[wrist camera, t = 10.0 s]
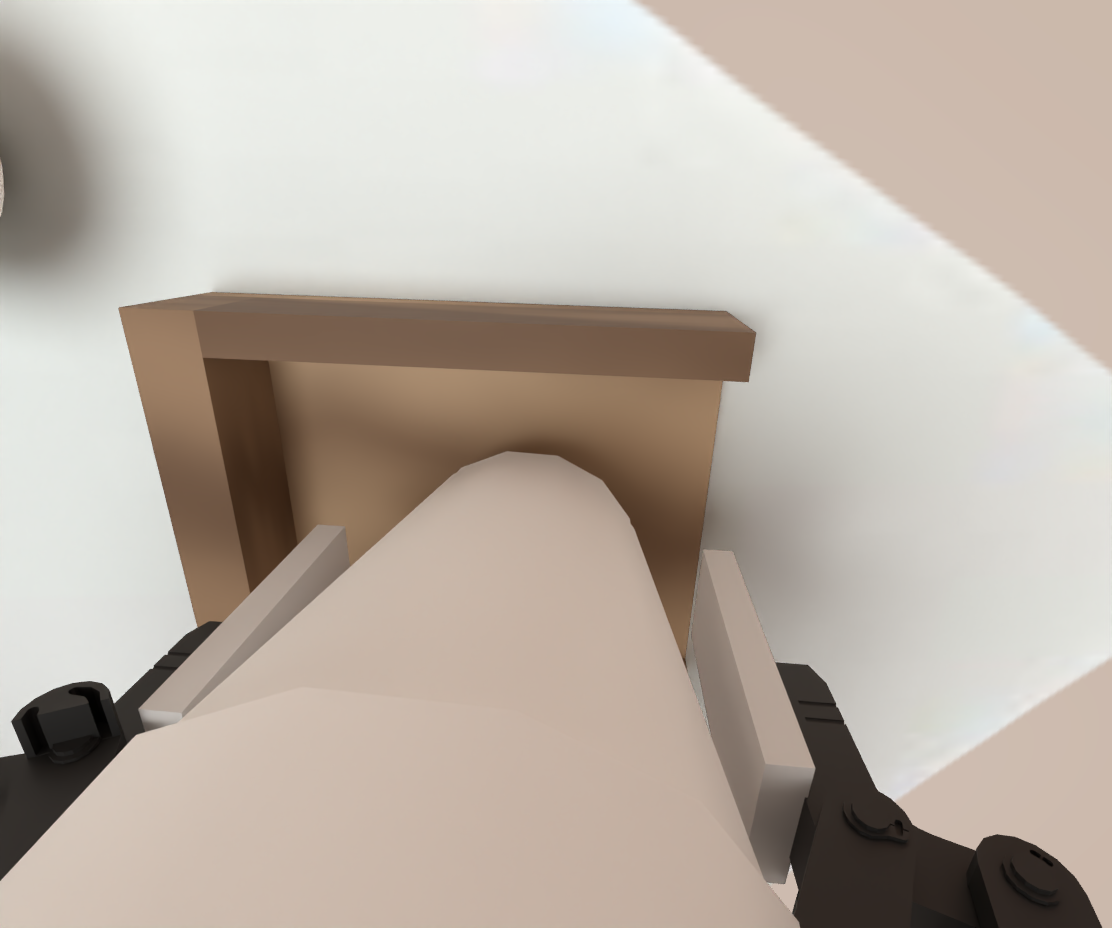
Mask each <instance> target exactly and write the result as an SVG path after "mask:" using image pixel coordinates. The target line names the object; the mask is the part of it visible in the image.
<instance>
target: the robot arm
mask: <svg viewBox="0 0 1112 928" xmlns="http://www.w3.org/2000/svg"><path fill="white" fill-rule="evenodd" d="M348 568H350V563H349V555H348V547H347V539H346V531H345V526H332V525H317V526H316V527H315V528H314V529H313V530H312V531H311V532H310V533H309V534H308V535H307V536H306V537H305V538H304V539H303V540H302V541H301V542H300V543H299V544H298V545H297V546H296V547H295V548H294V549H293V550H292V552H291V553H290V554H289V555H288V556H287V557H286V558H285V559H284V560H283V561H282V562H281V563H280V564H279V565H278V566H277V567H276V568H275V569H274V570H273V571H272V572H271V573H270V574H269V575H268V576H267V577H266V578H265V579H264V580H263V581H262V582H261V583H260V584H259V585H258V586H257V587H256V589H255V590H254V591H253V592H252V593H251V594H250V595H249V596H248V597H247V598H246V599H245V600H244V601H243V602H242V603H241V604H240V605H239V606H238V607H237V608H236V609H235V610H234V611H233V612H232V613H231V614H230V615H229V616H228V617H227V618H226V619H225V620H224V621H223V622H217V621H208V622H207V623H205V624H203V625H202V626H200V627H198V628H196V629H195V630H193V631H191V632H190V633H188V634H186V635H185V636H184V637H183V638H182V639H181V640H180V641H179V642H178V643H177V644H176V645H175V646H174V647H172V648H171V649H170V650H169V651H168V655H164V656H163V657H162V658H161V659H160V660H159V661H158V662H157V663H156V664H155V665H154V668H153V669H150V670H149V671H148V672H147V673H146V674H145V675H144V676H142V677H141V678H140V679H139V680H138V681H137V682H136V683H135V684H134V685H133V686H132V687H131V688H130V689H129V690H128V691H127V692H126V693H125V694H124V695H123V696H122V697H121V698H120V699H119V700H118V701H117V702H116V703H115V704H114V703H113V700H112V697H111V694H110V691H109V689H108V688H107V687H106V686H105V685H104V684H102V683H98V682H92V681H87V682H78V683H72V684H68V685H65V686H62V687H59V688H56V689H53V690H51V691H49V692H47V693H45V694H43V695H41V696H39V697H37V698H35V699H34V700H33V701H31V702H30V703H29V704H27V705H26V706H25V707H23V708H22V709H21V710H20V711H19V712H18V713H17V715H16V716H15V717H14V718H13V720H12V721H11V722H12V725H13V727H14V729H15V732H16V734H17V736H18V739H19V741H20V743H21V746H22V748H23V750H24V753H25V754H19V755H13V756H7V757H1V758H0V881H1V880H2V879H3V878H4V877H5V875H6V874H7V873H8V872H9V871H10V870H11V869H12V868H13V867H14V866H15V865H16V864H17V863H18V861H19V860H20V859H21V858H22V857H23V856H24V855H25V854H26V853H27V852H28V851H29V850H30V849H31V847H32V846H33V845H34V844H35V843H36V842H37V841H38V840H39V839H40V838H41V837H42V836H43V835H44V833H45V832H46V831H47V830H48V829H49V828H50V827H51V826H52V825H53V824H54V823H55V822H56V821H57V819H58V818H59V817H60V816H61V815H62V814H63V813H64V812H65V811H66V810H67V809H68V808H69V807H70V805H71V804H72V803H73V802H74V801H75V800H76V799H77V798H78V797H79V796H80V795H81V794H82V793H83V792H84V790H85V789H86V788H87V787H88V786H89V785H90V784H91V783H92V782H93V781H94V780H95V779H96V778H97V776H98V775H99V774H100V773H101V772H102V771H103V770H104V769H105V768H106V767H107V766H108V765H109V764H110V762H111V761H112V760H113V759H114V758H115V757H116V756H117V755H118V754H119V753H120V752H121V751H122V750H123V748H124V747H125V746H126V745H127V744H128V743H129V742H130V741H131V740H132V739H133V738H134V737H135V736H136V735H137V734H141V733H144V732H148V731H151V730H155V729H158V728H162V727H165V726H168V725H172V724H175V723H177V722H179V721H180V720H181V719H182V718H183V717H184V716H185V715H186V714H187V713H189V712H190V711H191V710H192V709H193V708H194V707H195V706H196V705H197V704H199V703H200V702H201V701H202V700H203V699H204V698H205V697H206V696H207V695H209V694H210V693H211V692H212V691H213V690H214V689H215V688H216V687H217V686H219V685H220V684H221V683H222V682H223V681H224V680H225V679H226V678H227V677H229V676H230V675H231V674H232V673H233V672H234V671H235V670H236V669H237V668H238V667H240V666H241V665H242V664H243V663H244V662H245V661H246V660H247V659H248V658H250V657H251V656H252V655H253V654H254V653H255V652H256V651H257V650H258V649H260V648H261V647H262V646H263V645H264V644H265V643H266V642H267V641H268V640H270V639H271V638H272V637H273V636H274V635H275V634H276V633H277V632H278V631H280V630H281V629H282V628H283V627H284V626H285V625H286V624H287V623H288V622H290V621H291V620H292V619H293V618H294V617H295V616H296V615H297V614H298V613H300V612H301V611H302V610H303V609H304V608H305V607H306V606H307V605H308V604H310V603H311V602H312V601H313V600H314V599H315V598H316V597H317V596H318V595H320V594H321V593H322V592H323V591H324V590H325V589H326V588H327V587H328V586H330V585H331V584H332V583H333V582H334V581H335V580H336V579H337V578H338V577H340V576H341V575H342V574H343V573H344V572H345V571H346V570H347V569H348ZM691 637H692V642H693V647H694V652H695V657H696V662H697V667H698V672H699V677H700V682H701V687H702V692H703V697H704V702H705V707H706V712H707V717H708V722H709V727H710V732H711V737H712V740H713V743H714V746H715V748H716V751H717V754H718V757H719V759H720V762H721V765H722V767H723V770H724V773H725V776H726V778H727V781H728V784H729V786H730V789H731V792H732V794H733V797H734V800H735V803H736V805H737V808H738V811H739V813H740V816H741V819H742V821H743V824H744V827H745V830H746V832H747V835H748V838H749V840H750V843H751V846H752V848H753V851H754V854H755V857H756V859H757V862H758V865H759V867H760V870H761V873H762V875H763V878H764V880H765V881H766V882H768V883H778V884H785V882H786V878H787V874H788V871H789V867H790V863H791V865H792V869H793V872H794V876H795V879H796V883H797V886H798V889H799V891H798V894H797V897H796V901H795V905H794V909H793V912H792V914H793V915H794V917H795V918H796V919H797V920H798V922H799V925H800V928H1102V926H1101V924H1100V922H1099V920H1098V918H1097V915H1096V913H1095V911H1094V909H1093V907H1092V905H1091V903H1090V900H1089V898H1088V896H1087V894H1086V893H1085V891H1084V890H1083V888H1082V887H1081V885H1080V884H1079V882H1078V881H1077V879H1076V878H1075V877H1074V876H1073V874H1071V873H1070V872H1069V871H1068V870H1067V869H1066V868H1065V867H1064V866H1063V865H1062V864H1061V863H1060V862H1059V861H1058V860H1057V859H1055V858H1054V857H1052V856H1051V855H1049V854H1048V853H1046V852H1045V851H1043V850H1042V849H1040V848H1039V847H1037V846H1036V845H1033V844H1031V843H1028V842H1026V841H1023V840H1021V839H1019V838H1016V837H1012V836H1004V835H998V834H997V835H993V836H989V837H986V838H983V840H982V841H981V843H980V844H979V846H978V847H977V849H976V851H975V850H972V849H970V848H967V847H964V846H961V845H958V844H956V843H953V842H951V841H948V840H945V839H942V838H940V837H937V836H934V835H932V834H929V833H927V832H925V831H923V830H921V829H918V828H917V827H915V826H914V825H912V823H911V821H910V820H909V818H908V817H907V815H906V813H905V812H904V811H903V810H902V809H901V808H900V807H899V806H898V805H897V804H896V803H895V802H894V801H893V800H892V799H890V798H889V797H887V796H885V795H884V794H882V793H880V792H879V791H878V790H877V789H876V787H875V785H874V783H873V781H872V778H871V776H870V774H869V772H868V770H867V768H866V766H865V764H864V762H863V760H862V757H861V755H860V753H859V751H858V749H857V747H856V745H855V743H854V741H853V739H852V736H851V734H850V732H849V730H848V728H847V726H846V725H844V720H843V717H842V715H841V713H840V711H839V709H838V708H836V703H835V701H834V699H833V696H832V694H831V692H830V690H829V688H828V686H827V684H826V683H825V682H824V681H823V680H822V679H821V678H820V677H819V676H818V675H817V674H816V673H815V672H814V671H813V670H812V669H811V668H810V667H809V666H808V665H801V664H788V663H775V661H774V658H773V656H772V653H771V650H770V648H769V645H768V642H767V640H766V637H765V635H764V632H763V629H762V627H761V624H760V621H759V619H758V616H757V614H756V611H755V608H754V606H753V603H752V600H751V598H750V595H749V593H748V590H747V587H746V585H745V582H744V579H743V577H742V574H741V572H740V569H739V566H738V564H737V561H736V558H735V556H734V553H733V551H723V550H707V549H703V552H702V560H701V567H700V574H699V581H698V589H697V596H696V603H695V610H694V618H693V625H692V632H691Z"/></svg>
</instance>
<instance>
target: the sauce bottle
mask: <svg viewBox="0 0 1112 928" xmlns="http://www.w3.org/2000/svg"><path fill="white" fill-rule="evenodd" d="M3 182H4V180H3V168H2V163H1V159H0V216H1V214H2V209H3V200H4V184H3Z"/></svg>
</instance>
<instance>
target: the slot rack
mask: <svg viewBox="0 0 1112 928" xmlns="http://www.w3.org/2000/svg"><path fill="white" fill-rule="evenodd" d="M119 313H120V317H121V321H122V325H123V329H124V333H125V337H126V341H127V345H128V349H129V353H130V357H131V361H132V365H133V369H134V373H135V377H136V381H137V385H138V389H139V393H140V397H141V401H142V405H143V409H144V413H145V417H146V421H147V425H148V429H149V433H150V437H151V441H152V446H153V450H154V454H155V458H156V462H157V466H158V470H159V474H160V478H161V482H162V486H163V490H164V494H165V498H166V502H167V506H168V510H169V514H170V518H171V522H172V526H173V530H174V534H175V538H176V542H177V546H178V550H179V554H180V558H181V562H182V566H183V570H184V575H185V579H186V583H187V587H188V591H189V595H190V599H191V603H192V607H193V611H194V615H195V619H196V623H197V627H200V626H202V625H203V624H205V623H207V622H208V621H217V622H223V621H224V620H225V619H226V618H227V617H228V616H229V615H230V614H231V613H232V612H233V611H234V610H235V609H236V608H237V607H238V606H239V605H240V604H241V603H242V602H243V601H244V600H245V599H246V598H247V597H248V596H249V595H250V594H251V593H252V592H253V591H254V590H255V589H256V587H257V586H258V585H259V584H260V583H261V582H262V581H263V580H264V579H265V578H266V577H267V576H268V575H269V574H270V573H271V572H272V571H273V570H274V569H275V568H276V567H277V566H278V565H279V564H280V563H281V562H282V561H283V560H284V559H285V558H286V557H287V556H288V555H289V554H290V553H291V552H292V550H293V549H294V548H295V547H296V546H297V545H298V544H299V543H300V542H301V541H302V540H303V539H304V538H305V537H306V536H307V535H308V534H309V533H310V532H311V531H312V530H313V529H314V528H315V527H316V526H317V525H332V526H345V531H346V539H347V547H348V555H349V563H350V567H351V566H352V565H353V564H354V563H355V562H356V561H357V560H358V559H360V558H361V557H362V556H363V555H364V554H365V553H366V552H367V551H368V550H370V549H371V548H372V547H373V546H374V545H375V544H376V543H377V542H378V541H380V540H381V539H382V538H383V537H384V536H385V535H386V534H387V533H388V532H390V531H391V530H392V529H393V528H394V527H395V526H396V525H397V524H398V523H399V522H401V521H402V520H403V519H404V518H405V517H406V516H407V515H408V514H409V513H411V512H412V511H413V510H414V509H415V508H416V507H417V506H418V505H419V504H421V503H422V502H423V501H424V500H425V499H426V498H427V497H428V496H429V495H431V494H432V493H433V492H434V491H435V490H436V489H437V488H438V487H439V486H441V485H442V484H443V483H444V482H445V481H446V480H447V479H448V478H449V477H451V476H452V475H453V474H455V473H457V472H458V471H459V470H460V468H462V467H464V466H467V465H470V464H473V463H476V462H478V461H481V460H484V459H487V458H489V457H492V456H495V455H498V454H501V453H503V452H506V451H510V452H522V453H533V454H544V455H556V456H559V457H561V458H563V459H565V460H567V461H568V462H570V463H572V464H574V465H576V466H577V467H579V468H581V469H583V470H585V471H586V472H588V473H590V474H592V475H594V476H596V477H597V478H599V479H601V480H602V481H603V482H604V483H605V485H606V486H607V487H608V489H609V490H610V492H611V493H612V494H613V496H614V497H615V499H616V500H617V501H618V503H619V504H620V506H621V507H622V508H623V510H624V511H625V513H626V514H627V515H628V517H629V518H630V524H631V525H632V526H633V528H634V530H635V532H636V535H637V538H638V540H639V543H640V546H641V549H642V551H643V554H644V557H645V559H646V562H647V565H648V567H649V570H650V573H651V576H652V578H653V581H654V584H655V586H656V589H657V592H658V594H659V597H660V600H661V603H662V605H663V608H664V611H665V613H666V616H667V619H668V622H669V624H670V627H671V630H672V632H673V635H674V638H675V640H676V643H677V646H678V649H679V651H680V654H681V657H682V659H683V662H684V665H685V667H686V661H685V655H686V647H687V640H688V633H689V625H690V618H691V610H692V603H693V596H694V588H695V581H696V574H697V566H698V559H699V551H700V544H701V537H702V529H703V522H704V515H705V507H706V500H707V492H708V485H709V478H710V470H711V463H712V455H713V448H714V441H715V433H716V426H717V419H718V411H719V404H720V396H721V389H722V382H723V381H736V382H749V376H750V369H751V363H752V356H753V350H754V343H755V337H756V332H755V331H753V330H752V329H750V328H749V327H748V326H746V325H745V324H743V323H742V322H741V321H739V320H738V319H736V318H735V317H734V316H732V315H731V314H729V313H728V312H727V311H705V310H678V309H650V308H623V307H596V306H569V305H542V304H515V303H488V302H461V301H434V300H407V299H380V298H353V297H326V296H299V295H272V294H245V293H217V292H210V293H204V294H198V295H192V296H186V297H179V298H173V299H167V300H161V301H155V302H149V303H143V304H137V305H131V306H125V307H119ZM686 670H687V667H686ZM687 673H688V672H687Z"/></svg>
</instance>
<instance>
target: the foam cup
mask: <svg viewBox="0 0 1112 928" xmlns="http://www.w3.org/2000/svg"><path fill="white" fill-rule="evenodd" d="M0 928H800V925H799V922H798V920H797V919H796V918H795V917H794V915H793V914H792V913H791V912H790V910H789V909H788V908H787V907H786V906H785V904H784V903H783V902H782V901H781V900H780V898H779V897H778V896H777V895H776V893H775V892H774V891H773V890H772V888H771V887H770V886H769V885H768V883H767V882H766V881H765V880H764V878H763V875H762V873H761V870H760V867H759V865H758V862H757V859H756V857H755V854H754V851H753V848H752V846H751V843H750V840H749V838H748V835H747V832H746V830H745V827H744V824H743V821H742V819H741V816H740V813H739V811H738V808H737V805H736V803H735V800H734V797H733V794H732V792H731V789H730V786H729V784H728V781H727V778H726V776H725V773H724V770H723V767H722V765H721V762H720V759H719V757H718V754H717V751H716V748H715V746H714V743H713V740H712V738H711V735H710V732H709V730H708V727H707V724H706V721H705V719H704V716H703V713H702V711H701V708H700V705H699V703H698V700H697V697H696V694H695V692H694V689H693V686H692V684H691V681H690V678H689V676H688V673H687V670H686V667H685V665H684V662H683V659H682V657H681V654H680V651H679V649H678V646H677V643H676V640H675V638H674V635H673V632H672V630H671V627H670V624H669V622H668V619H667V616H666V613H665V611H664V608H663V605H662V603H661V600H660V597H659V594H658V592H657V589H656V586H655V584H654V581H653V578H652V576H651V573H650V570H649V567H648V565H647V562H646V559H645V557H644V554H643V551H642V549H641V546H640V543H639V540H638V538H637V535H636V532H635V530H634V528H633V526H632V525H631V524H630V518H629V517H628V515H627V514H626V513H625V511H624V510H623V508H622V507H621V506H620V504H619V503H618V501H617V500H616V499H615V497H614V496H613V494H612V493H611V492H610V490H609V489H608V487H607V486H606V485H605V483H604V482H603V481H602V480H601V479H599V478H597V477H596V476H594V475H592V474H590V473H588V472H586V471H585V470H583V469H581V468H579V467H577V466H576V465H574V464H572V463H570V462H568V461H567V460H565V459H563V458H561V457H559V456H556V455H544V454H533V453H522V452H510V451H506V452H503V453H501V454H498V455H495V456H492V457H489V458H487V459H484V460H481V461H478V462H476V463H473V464H470V465H467V466H464V467H462V468H460V470H459V471H458V472H457V473H455V474H453V475H452V476H451V477H449V478H448V479H447V480H446V481H445V482H444V483H443V484H442V485H441V486H439V487H438V488H437V489H436V490H435V491H434V492H433V493H432V494H431V495H429V496H428V497H427V498H426V499H425V500H424V501H423V502H422V503H421V504H419V505H418V506H417V507H416V508H415V509H414V510H413V511H412V512H411V513H409V514H408V515H407V516H406V517H405V518H404V519H403V520H402V521H401V522H399V523H398V524H397V525H396V526H395V527H394V528H393V529H392V530H391V531H390V532H388V533H387V534H386V535H385V536H384V537H383V538H382V539H381V540H380V541H378V542H377V543H376V544H375V545H374V546H373V547H372V548H371V549H370V550H368V551H367V552H366V553H365V554H364V555H363V556H362V557H361V558H360V559H358V560H357V561H356V562H355V563H354V564H353V565H352V566H351V567H350V568H348V569H347V570H346V571H345V572H344V573H343V574H342V575H341V576H340V577H338V578H337V579H336V580H335V581H334V582H333V583H332V584H331V585H330V586H328V587H327V588H326V589H325V590H324V591H323V592H322V593H321V594H320V595H318V596H317V597H316V598H315V599H314V600H313V601H312V602H311V603H310V604H308V605H307V606H306V607H305V608H304V609H303V610H302V611H301V612H300V613H298V614H297V615H296V616H295V617H294V618H293V619H292V620H291V621H290V622H288V623H287V624H286V625H285V626H284V627H283V628H282V629H281V630H280V631H278V632H277V633H276V634H275V635H274V636H273V637H272V638H271V639H270V640H268V641H267V642H266V643H265V644H264V645H263V646H262V647H261V648H260V649H258V650H257V651H256V652H255V653H254V654H253V655H252V656H251V657H250V658H248V659H247V660H246V661H245V662H244V663H243V664H242V665H241V666H240V667H238V668H237V669H236V670H235V671H234V672H233V673H232V674H231V675H230V676H229V677H227V678H226V679H225V680H224V681H223V682H222V683H221V684H220V685H219V686H217V687H216V688H215V689H214V690H213V691H212V692H211V693H210V694H209V695H207V696H206V697H205V698H204V699H203V700H202V701H201V702H200V703H199V704H197V705H196V706H195V707H194V708H193V709H192V710H191V711H190V712H189V713H187V714H186V715H185V716H184V717H183V718H182V719H181V720H180V721H179V722H177V723H175V724H172V725H168V726H165V727H162V728H158V729H155V730H151V731H148V732H144V733H141V734H137V735H136V736H135V737H134V738H133V739H132V740H131V741H130V742H129V743H128V744H127V745H126V746H125V747H124V748H123V750H122V751H121V752H120V753H119V754H118V755H117V756H116V757H115V758H114V759H113V760H112V761H111V762H110V764H109V765H108V766H107V767H106V768H105V769H104V770H103V771H102V772H101V773H100V774H99V775H98V776H97V778H96V779H95V780H94V781H93V782H92V783H91V784H90V785H89V786H88V787H87V788H86V789H85V790H84V792H83V793H82V794H81V795H80V796H79V797H78V798H77V799H76V800H75V801H74V802H73V803H72V804H71V805H70V807H69V808H68V809H67V810H66V811H65V812H64V813H63V814H62V815H61V816H60V817H59V818H58V819H57V821H56V822H55V823H54V824H53V825H52V826H51V827H50V828H49V829H48V830H47V831H46V832H45V833H44V835H43V836H42V837H41V838H40V839H39V840H38V841H37V842H36V843H35V844H34V845H33V846H32V847H31V849H30V850H29V851H28V852H27V853H26V854H25V855H24V856H23V857H22V858H21V859H20V860H19V861H18V863H17V864H16V865H15V866H14V867H13V868H12V869H11V870H10V871H9V872H8V873H7V874H6V875H5V877H4V878H3V879H2V880H1V881H0Z"/></svg>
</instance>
